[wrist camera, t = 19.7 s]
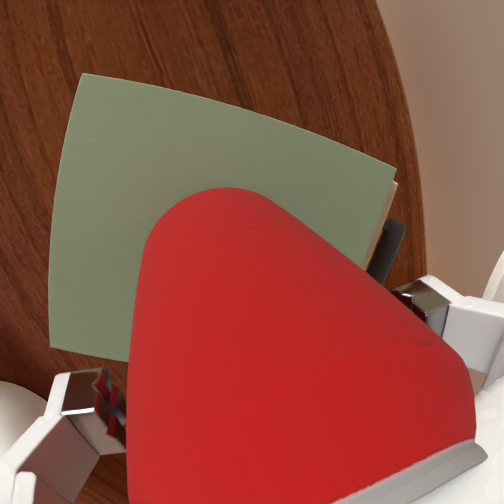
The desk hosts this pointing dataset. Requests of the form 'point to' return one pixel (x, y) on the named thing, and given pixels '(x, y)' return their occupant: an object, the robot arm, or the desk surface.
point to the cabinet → (180, 193)
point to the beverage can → (282, 370)
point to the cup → (17, 413)
